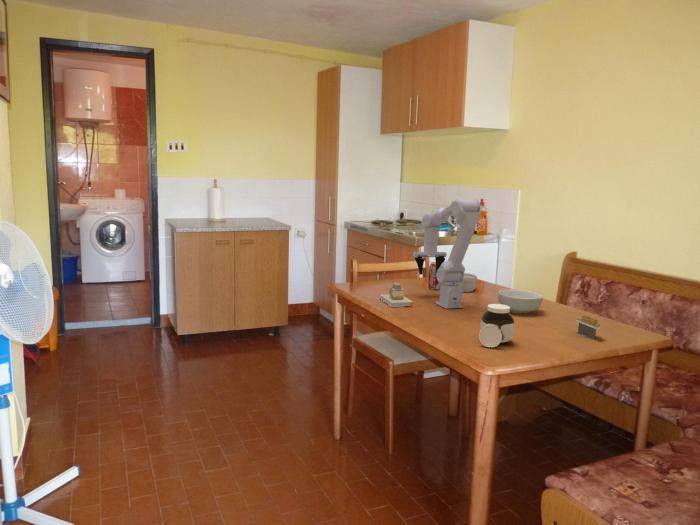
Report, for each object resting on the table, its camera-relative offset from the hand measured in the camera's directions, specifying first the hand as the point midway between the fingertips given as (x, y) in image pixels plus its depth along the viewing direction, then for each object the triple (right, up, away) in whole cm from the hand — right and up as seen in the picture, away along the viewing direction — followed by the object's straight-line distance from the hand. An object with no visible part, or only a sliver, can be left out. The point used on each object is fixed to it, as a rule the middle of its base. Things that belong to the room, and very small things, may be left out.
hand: (429, 273), depth 230 cm
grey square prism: (-15, -6, -12) cm, 20 cm away
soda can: (+6, -7, +18) cm, 20 cm away
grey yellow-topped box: (+46, -21, -49) cm, 71 cm away
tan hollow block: (-15, -10, -12) cm, 22 cm away
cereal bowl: (+32, -15, -19) cm, 40 cm away
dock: (-15, -12, -12) cm, 22 cm away
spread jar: (+12, -21, -60) cm, 65 cm away
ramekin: (+17, -8, +17) cm, 25 cm away
